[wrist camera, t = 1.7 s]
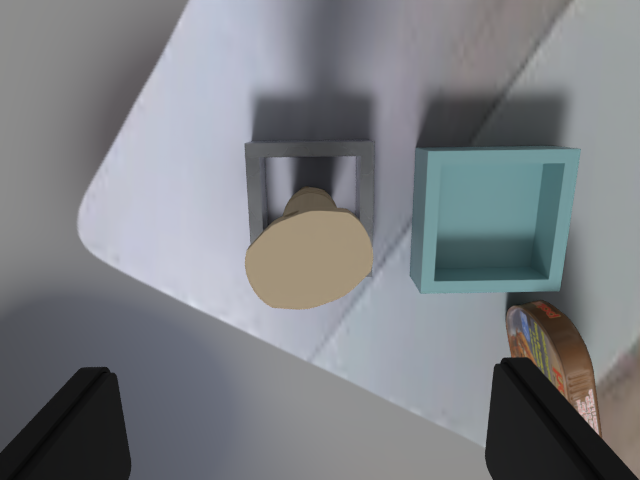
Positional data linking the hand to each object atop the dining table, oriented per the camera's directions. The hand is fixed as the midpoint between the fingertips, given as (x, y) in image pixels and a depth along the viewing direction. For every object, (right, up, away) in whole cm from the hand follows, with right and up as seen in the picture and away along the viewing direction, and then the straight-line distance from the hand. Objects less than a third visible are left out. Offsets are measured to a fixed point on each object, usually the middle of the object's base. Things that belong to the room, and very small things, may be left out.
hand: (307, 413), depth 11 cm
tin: (+20, -7, +30) cm, 36 cm away
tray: (+14, +7, +26) cm, 30 cm away
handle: (0, +7, +25) cm, 27 cm away
